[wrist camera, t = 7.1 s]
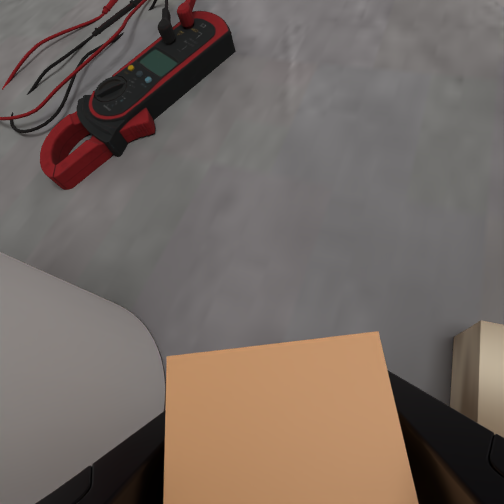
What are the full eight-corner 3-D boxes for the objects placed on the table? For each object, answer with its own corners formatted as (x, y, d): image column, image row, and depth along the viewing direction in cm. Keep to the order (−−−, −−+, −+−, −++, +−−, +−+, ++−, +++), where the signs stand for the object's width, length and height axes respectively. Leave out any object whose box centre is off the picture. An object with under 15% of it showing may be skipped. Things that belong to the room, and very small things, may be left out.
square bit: (369, 491, 14) (449, 637, 5) (266, 497, 14) (159, 637, 5) (349, 381, 15) (377, 331, 6) (257, 390, 16) (167, 356, 7)
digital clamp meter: (269, -11, 31) (35, 179, 26) (276, 38, 35) (73, 210, 31) (125, -71, 40) (-63, 61, 36) (143, -27, 44) (-24, 96, 40)
